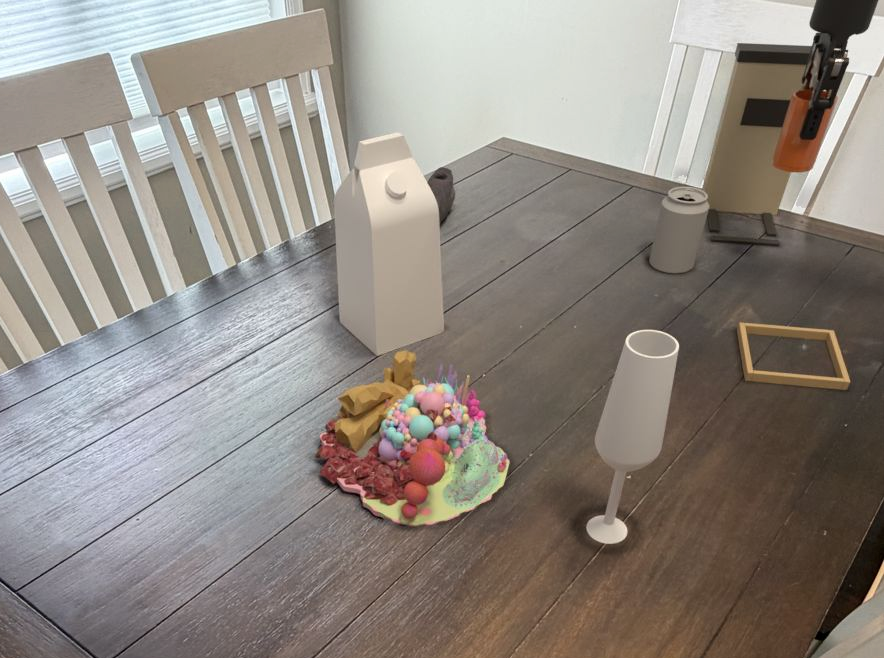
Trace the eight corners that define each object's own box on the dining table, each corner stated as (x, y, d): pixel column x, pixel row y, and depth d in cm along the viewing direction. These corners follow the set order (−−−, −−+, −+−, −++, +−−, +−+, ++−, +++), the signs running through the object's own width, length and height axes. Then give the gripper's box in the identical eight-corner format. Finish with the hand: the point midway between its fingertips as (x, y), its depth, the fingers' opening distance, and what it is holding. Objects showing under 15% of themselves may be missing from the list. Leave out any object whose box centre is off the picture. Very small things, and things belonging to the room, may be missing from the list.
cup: (810, 158, 112) (834, 90, 106) (815, 173, 109) (840, 103, 102) (769, 156, 113) (790, 88, 106) (773, 171, 109) (795, 101, 103)
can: (643, 273, 124) (660, 198, 115) (652, 254, 128) (668, 180, 119) (688, 281, 122) (708, 205, 113) (695, 261, 126) (715, 187, 117)
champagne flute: (647, 533, 84) (705, 343, 65) (612, 564, 81) (663, 373, 62) (599, 505, 87) (642, 316, 69) (564, 533, 84) (599, 344, 66)
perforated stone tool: (438, 239, 133) (438, 198, 127) (410, 235, 134) (409, 195, 128) (459, 205, 142) (459, 166, 137) (433, 202, 143) (432, 163, 138)
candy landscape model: (282, 461, 92) (269, 399, 85) (404, 379, 104) (402, 319, 97) (434, 552, 82) (433, 490, 75) (551, 450, 94) (560, 388, 87)
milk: (404, 300, 118) (398, 116, 98) (444, 332, 112) (445, 142, 92) (339, 322, 114) (318, 134, 94) (376, 356, 108) (363, 162, 88)
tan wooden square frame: (828, 342, 110) (834, 330, 108) (844, 394, 101) (850, 381, 100) (735, 334, 111) (739, 322, 110) (743, 385, 103) (747, 372, 101)
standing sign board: (774, 209, 140) (828, 46, 120) (786, 251, 129) (848, 79, 109) (696, 204, 142) (737, 42, 122) (701, 245, 131) (747, 74, 111)
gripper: (894, -3, 90) (838, 150, 102) (872, -27, 99) (823, 116, 112) (830, -4, 91) (782, 147, 103) (814, -29, 100) (772, 113, 113)
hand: (803, 130), depth 107 cm, fingers closed on cup, 6 cm apart
